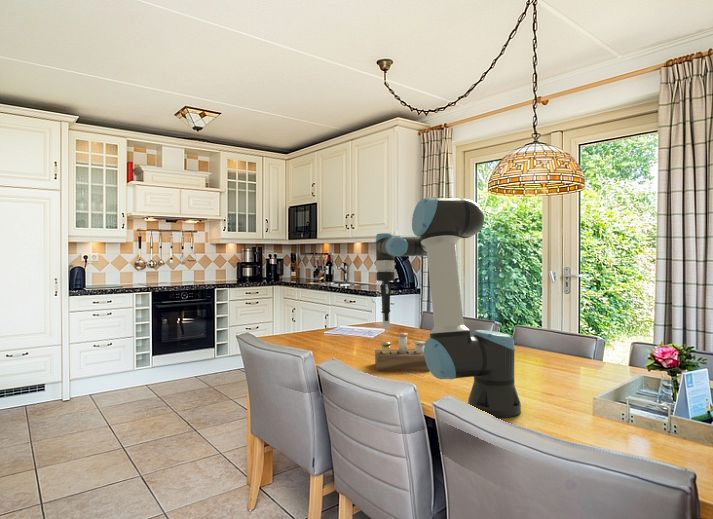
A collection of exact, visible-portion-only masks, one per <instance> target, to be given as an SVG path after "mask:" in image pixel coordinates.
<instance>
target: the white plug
mask: <svg viewBox="0 0 713 519" xmlns="http://www.w3.org/2000/svg"><path fill="white" fill-rule="evenodd" d="M397 336H398V349H399V354H407V349H408V336H409V333H408V332H397Z"/></svg>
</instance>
